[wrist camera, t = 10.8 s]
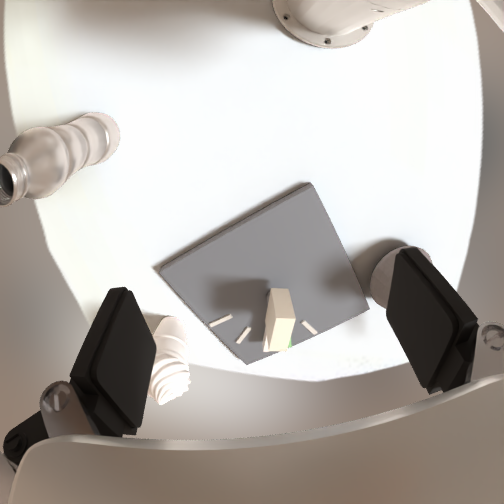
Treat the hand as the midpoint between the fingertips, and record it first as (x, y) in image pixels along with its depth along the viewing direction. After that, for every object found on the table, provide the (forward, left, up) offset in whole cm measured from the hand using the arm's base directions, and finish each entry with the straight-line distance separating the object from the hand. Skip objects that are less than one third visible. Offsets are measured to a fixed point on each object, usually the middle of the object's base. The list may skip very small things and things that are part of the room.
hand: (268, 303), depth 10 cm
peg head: (+9, +23, -27) cm, 36 cm away
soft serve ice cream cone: (+25, +18, -28) cm, 42 cm away
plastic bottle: (+14, -12, -28) cm, 34 cm away
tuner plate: (+7, +20, -28) cm, 35 cm away
